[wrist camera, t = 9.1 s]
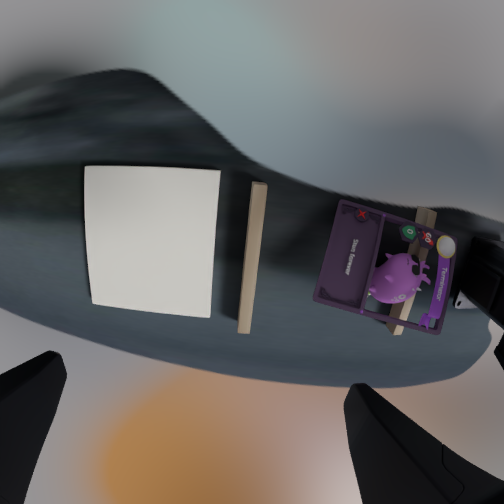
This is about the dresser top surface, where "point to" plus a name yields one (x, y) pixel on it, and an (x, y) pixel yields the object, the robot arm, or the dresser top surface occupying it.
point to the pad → (151, 237)
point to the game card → (382, 266)
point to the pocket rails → (253, 250)
